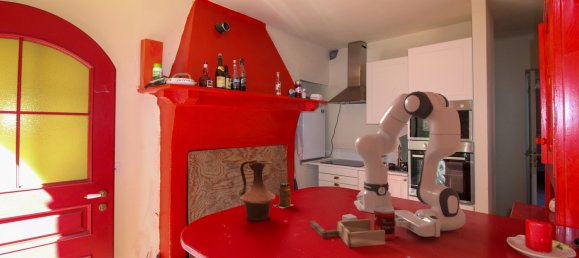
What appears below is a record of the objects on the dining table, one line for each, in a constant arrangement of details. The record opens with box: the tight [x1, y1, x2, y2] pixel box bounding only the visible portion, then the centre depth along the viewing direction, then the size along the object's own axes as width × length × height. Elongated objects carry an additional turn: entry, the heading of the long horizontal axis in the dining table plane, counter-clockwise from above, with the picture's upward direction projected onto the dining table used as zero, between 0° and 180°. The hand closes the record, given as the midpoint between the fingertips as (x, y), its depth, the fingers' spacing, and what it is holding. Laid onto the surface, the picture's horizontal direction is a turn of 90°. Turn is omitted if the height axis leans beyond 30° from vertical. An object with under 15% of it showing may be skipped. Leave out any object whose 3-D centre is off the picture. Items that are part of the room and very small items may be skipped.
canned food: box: [373, 206, 396, 241], centre depth 109 cm, size 8×8×11 cm
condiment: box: [273, 182, 294, 209], centre depth 152 cm, size 7×8×12 cm
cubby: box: [336, 218, 386, 248], centre depth 108 cm, size 13×14×5 cm
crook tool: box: [309, 220, 340, 239], centre depth 116 cm, size 14×7×2 cm, turn 16°
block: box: [341, 213, 358, 221], centre depth 121 cm, size 4×4×4 cm
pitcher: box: [238, 159, 276, 222], centre depth 133 cm, size 18×17×28 cm
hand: (393, 223), depth 110 cm, fingers closed, pressing on canned food
